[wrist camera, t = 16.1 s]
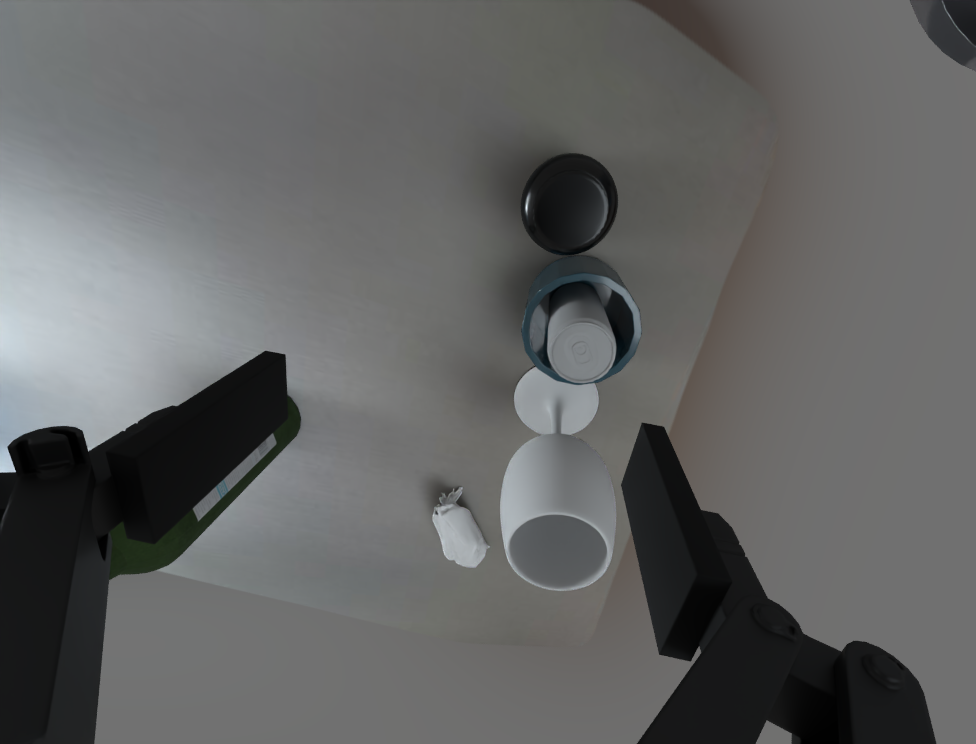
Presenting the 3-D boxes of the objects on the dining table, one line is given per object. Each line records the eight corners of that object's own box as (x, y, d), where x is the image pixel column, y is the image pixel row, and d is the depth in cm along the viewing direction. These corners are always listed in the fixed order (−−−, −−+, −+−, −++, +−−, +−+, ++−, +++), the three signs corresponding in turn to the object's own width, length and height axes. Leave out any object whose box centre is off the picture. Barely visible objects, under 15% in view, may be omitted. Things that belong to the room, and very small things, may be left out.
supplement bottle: (510, 195, 40) (493, 205, 29) (572, 136, 37) (579, 122, 27) (559, 255, 41) (561, 285, 31) (622, 202, 39) (649, 214, 28)
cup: (594, 234, 40) (603, 248, 33) (644, 318, 43) (662, 348, 35) (508, 291, 43) (499, 315, 36) (559, 366, 46) (561, 403, 39)
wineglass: (604, 365, 45) (642, 508, 26) (592, 440, 49) (616, 612, 30) (517, 357, 46) (492, 489, 27) (511, 431, 50) (485, 593, 31)
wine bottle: (227, 415, 54) (-106, 665, 27) (255, 369, 51) (-90, 599, 24) (283, 454, 55) (21, 730, 28) (314, 411, 52) (52, 676, 25)
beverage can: (592, 273, 41) (606, 310, 30) (607, 321, 42) (626, 373, 32) (541, 291, 42) (537, 333, 31) (558, 337, 44) (560, 393, 33)
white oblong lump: (427, 492, 56) (458, 564, 57) (415, 516, 49) (451, 597, 50) (464, 478, 56) (495, 550, 57) (457, 500, 49) (492, 582, 50)
